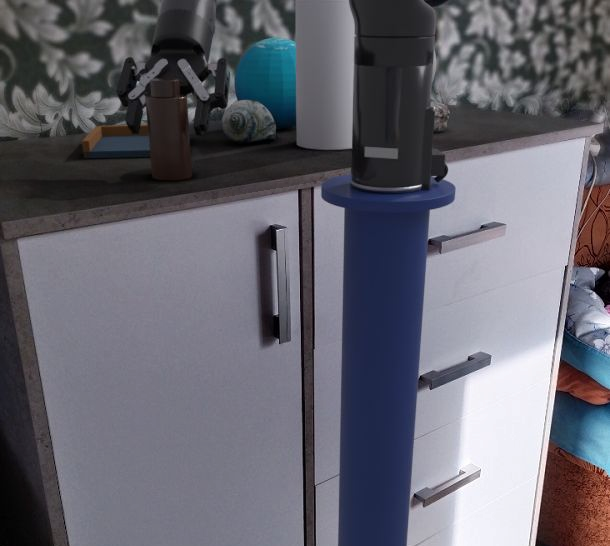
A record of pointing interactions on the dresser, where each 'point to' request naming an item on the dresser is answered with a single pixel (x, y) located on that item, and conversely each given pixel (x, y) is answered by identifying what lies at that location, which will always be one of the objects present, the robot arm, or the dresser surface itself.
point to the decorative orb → (270, 79)
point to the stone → (440, 116)
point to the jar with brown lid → (168, 130)
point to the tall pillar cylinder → (324, 74)
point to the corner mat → (116, 142)
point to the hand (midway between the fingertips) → (165, 131)
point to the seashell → (248, 122)
